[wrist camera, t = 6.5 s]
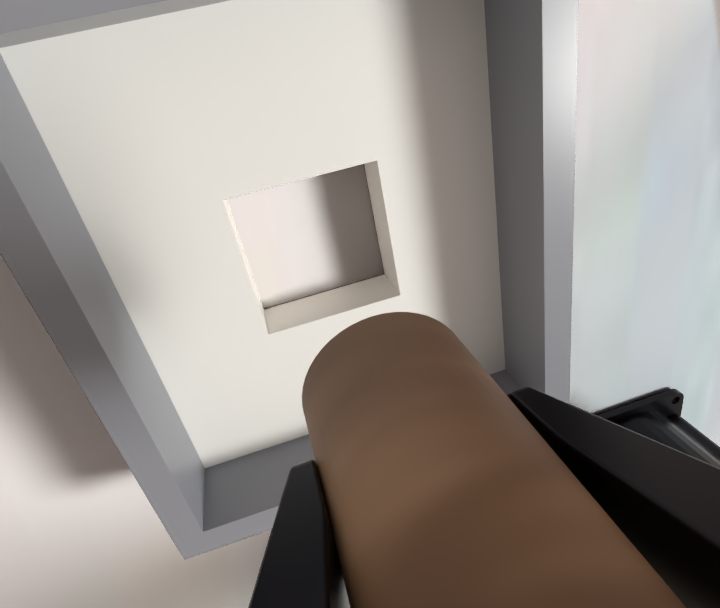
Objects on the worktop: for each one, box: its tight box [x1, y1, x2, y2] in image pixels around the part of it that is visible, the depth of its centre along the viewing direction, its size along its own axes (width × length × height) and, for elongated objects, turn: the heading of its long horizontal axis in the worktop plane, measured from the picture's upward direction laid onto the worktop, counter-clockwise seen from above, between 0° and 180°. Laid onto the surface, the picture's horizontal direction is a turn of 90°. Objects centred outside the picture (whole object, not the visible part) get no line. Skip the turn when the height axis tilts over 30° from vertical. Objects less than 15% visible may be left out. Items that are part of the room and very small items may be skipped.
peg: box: [302, 312, 686, 608], centre depth 7 cm, size 4×4×8 cm
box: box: [0, 0, 579, 560], centre depth 16 cm, size 15×17×5 cm
